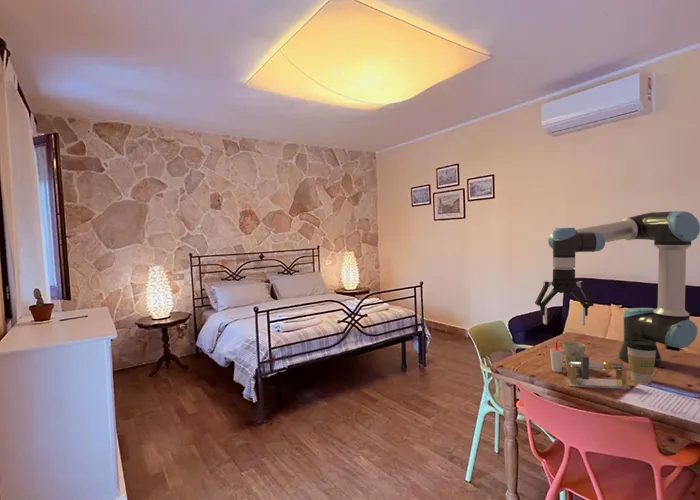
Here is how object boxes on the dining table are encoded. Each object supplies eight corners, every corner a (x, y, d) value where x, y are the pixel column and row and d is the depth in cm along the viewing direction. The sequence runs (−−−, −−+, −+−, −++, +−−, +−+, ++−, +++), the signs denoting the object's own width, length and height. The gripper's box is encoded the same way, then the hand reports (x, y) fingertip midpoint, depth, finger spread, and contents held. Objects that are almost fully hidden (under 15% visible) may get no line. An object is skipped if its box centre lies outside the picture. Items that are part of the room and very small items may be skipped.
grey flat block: (580, 371, 157) (580, 350, 157) (588, 379, 149) (588, 357, 149) (575, 371, 158) (575, 350, 157) (582, 379, 150) (583, 357, 149)
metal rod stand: (621, 381, 154) (621, 360, 154) (630, 389, 147) (630, 366, 147) (564, 379, 158) (564, 358, 158) (570, 386, 151) (570, 364, 151)
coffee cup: (658, 387, 148) (659, 347, 148) (626, 382, 154) (626, 343, 153) (655, 378, 157) (656, 340, 156) (624, 374, 162) (625, 337, 161)
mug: (588, 371, 166) (588, 347, 165) (555, 370, 168) (555, 346, 168) (581, 364, 174) (581, 341, 173) (549, 363, 176) (549, 340, 176)
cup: (550, 372, 166) (550, 343, 165) (548, 368, 171) (548, 340, 170) (565, 373, 164) (565, 344, 163) (563, 369, 169) (563, 341, 168)
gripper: (595, 267, 154) (595, 322, 155) (526, 267, 159) (526, 321, 160) (603, 269, 147) (603, 327, 148) (531, 269, 152) (531, 325, 153)
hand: (563, 324), depth 154 cm, fingers open, 12 cm apart
